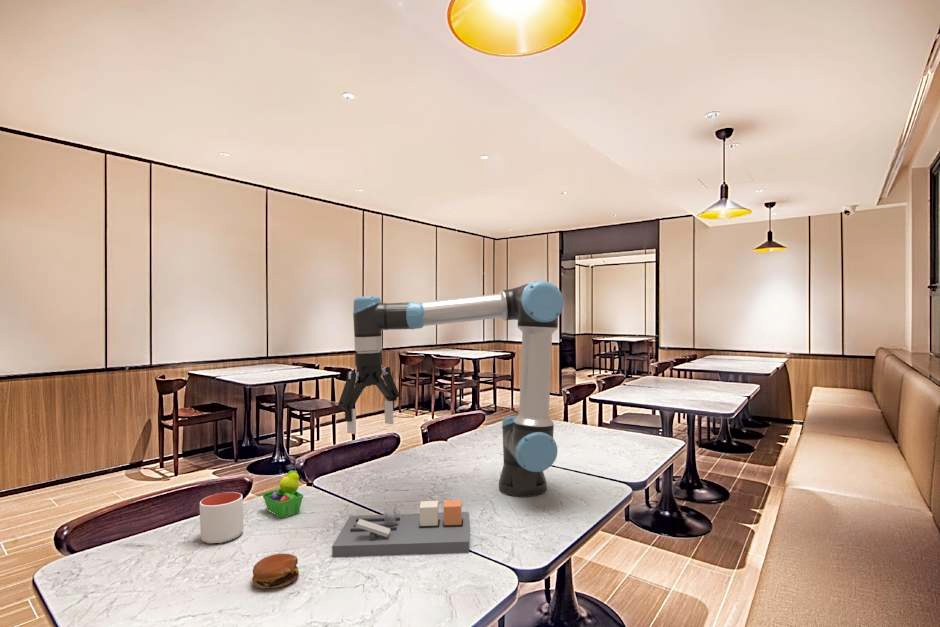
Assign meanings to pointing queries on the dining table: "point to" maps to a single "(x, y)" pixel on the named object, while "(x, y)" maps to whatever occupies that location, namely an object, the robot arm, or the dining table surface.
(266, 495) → the fruit basket
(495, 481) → the dining table surface
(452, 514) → the button
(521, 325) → the robot arm
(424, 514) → the button
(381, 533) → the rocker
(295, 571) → the burger
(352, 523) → the console
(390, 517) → the slider knob
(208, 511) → the cup
